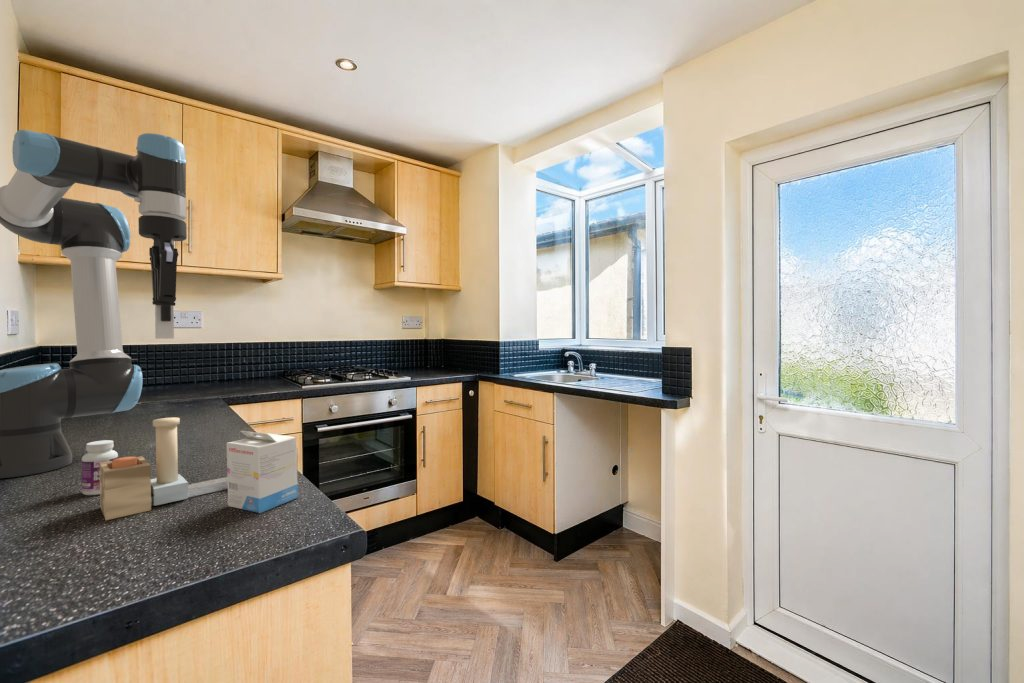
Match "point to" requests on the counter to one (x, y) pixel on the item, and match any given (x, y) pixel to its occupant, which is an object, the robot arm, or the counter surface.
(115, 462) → the orange rounded piece
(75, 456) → the counter surface
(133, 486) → the wooden box
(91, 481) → the pill bottle
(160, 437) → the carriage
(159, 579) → the counter surface
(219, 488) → the rail
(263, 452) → the ink box
